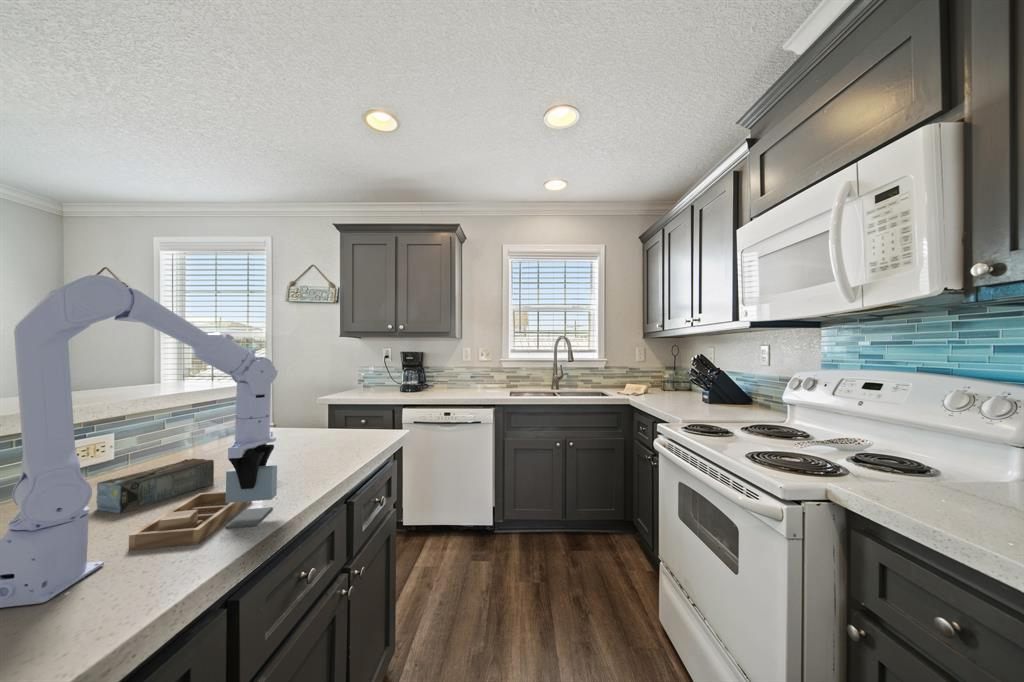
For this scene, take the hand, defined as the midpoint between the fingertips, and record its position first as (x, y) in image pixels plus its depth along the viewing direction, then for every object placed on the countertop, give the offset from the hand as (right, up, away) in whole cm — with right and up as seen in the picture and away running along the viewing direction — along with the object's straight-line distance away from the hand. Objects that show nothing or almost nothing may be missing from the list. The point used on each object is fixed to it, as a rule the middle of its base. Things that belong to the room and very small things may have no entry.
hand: (251, 485), depth 75 cm
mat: (0, -6, 0) cm, 6 cm away
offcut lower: (-7, -7, -8) cm, 12 cm away
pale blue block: (0, -3, 0) cm, 3 cm away
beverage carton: (-29, -7, +12) cm, 32 cm away
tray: (-9, -6, -2) cm, 11 cm away
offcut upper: (-8, -4, -8) cm, 12 cm away
